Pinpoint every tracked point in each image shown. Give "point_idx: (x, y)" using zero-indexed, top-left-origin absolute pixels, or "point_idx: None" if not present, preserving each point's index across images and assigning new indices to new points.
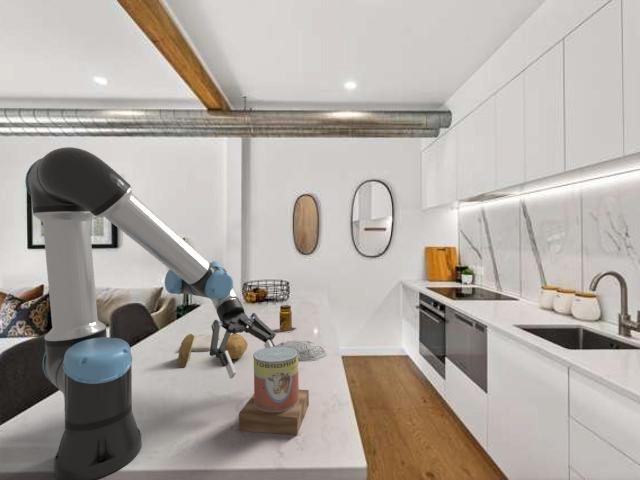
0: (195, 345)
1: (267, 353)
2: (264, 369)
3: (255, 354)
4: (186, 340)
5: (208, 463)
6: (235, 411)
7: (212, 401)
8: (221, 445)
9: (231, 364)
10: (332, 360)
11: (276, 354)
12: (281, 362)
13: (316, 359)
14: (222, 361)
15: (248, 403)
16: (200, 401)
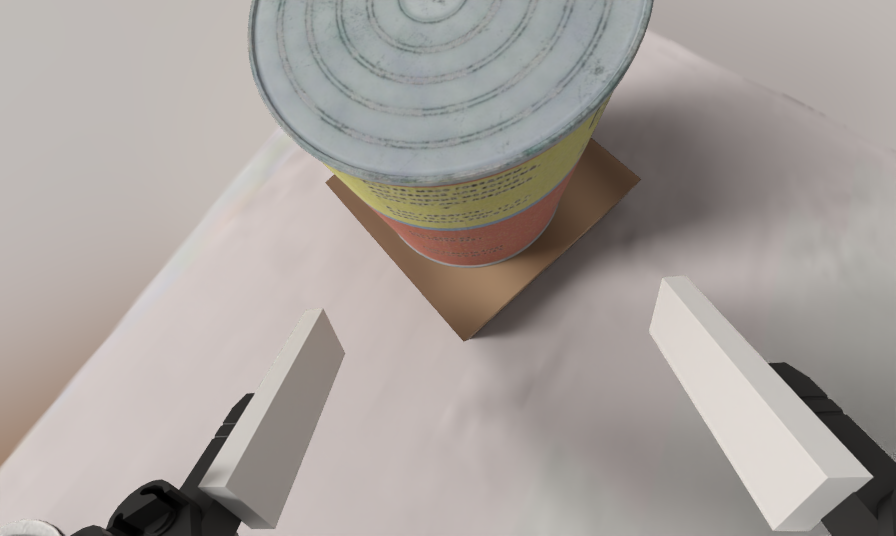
0: None
1: (492, 32)
2: None
3: (603, 67)
4: None
5: (759, 105)
6: (577, 331)
7: (630, 486)
8: (697, 162)
9: (718, 325)
10: (22, 465)
11: None
12: None
13: (49, 531)
14: (817, 399)
15: (573, 229)
16: (681, 531)
